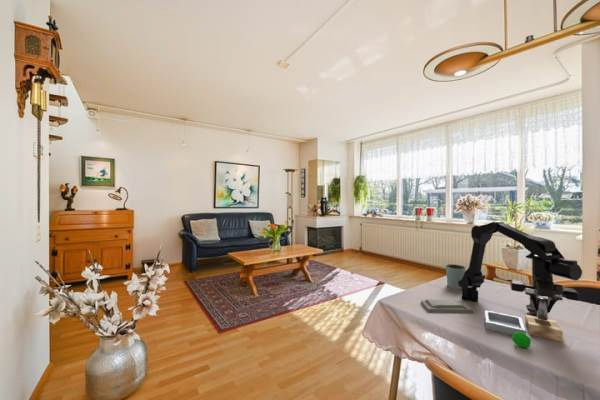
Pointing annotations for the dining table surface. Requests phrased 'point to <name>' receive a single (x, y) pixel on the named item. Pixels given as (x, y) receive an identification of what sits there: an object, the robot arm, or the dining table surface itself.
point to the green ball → (521, 339)
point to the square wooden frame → (543, 328)
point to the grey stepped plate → (446, 306)
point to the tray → (503, 323)
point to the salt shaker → (532, 307)
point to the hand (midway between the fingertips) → (542, 311)
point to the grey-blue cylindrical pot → (454, 275)
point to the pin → (542, 308)
